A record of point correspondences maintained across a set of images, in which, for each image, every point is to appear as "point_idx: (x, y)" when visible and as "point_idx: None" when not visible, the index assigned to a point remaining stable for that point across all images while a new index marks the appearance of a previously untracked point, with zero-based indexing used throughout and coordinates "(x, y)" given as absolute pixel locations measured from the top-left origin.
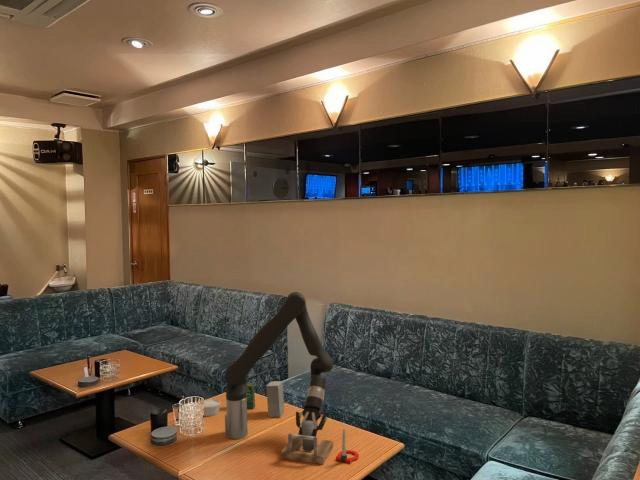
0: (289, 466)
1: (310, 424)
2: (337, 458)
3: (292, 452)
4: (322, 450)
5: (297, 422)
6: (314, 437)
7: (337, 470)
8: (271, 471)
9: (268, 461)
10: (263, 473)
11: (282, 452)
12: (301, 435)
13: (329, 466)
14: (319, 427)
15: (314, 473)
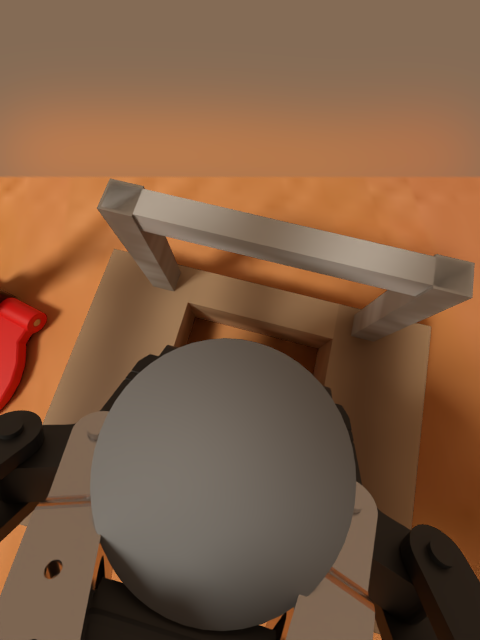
0: None
1: (158, 361)
2: (32, 308)
3: (342, 308)
4: (115, 339)
5: (458, 593)
6: (132, 195)
7: (58, 211)
8: (418, 202)
9: (473, 302)
10: (454, 185)
11: (417, 325)
12: (296, 242)
13: (98, 249)
14: (23, 417)
15: (184, 185)
